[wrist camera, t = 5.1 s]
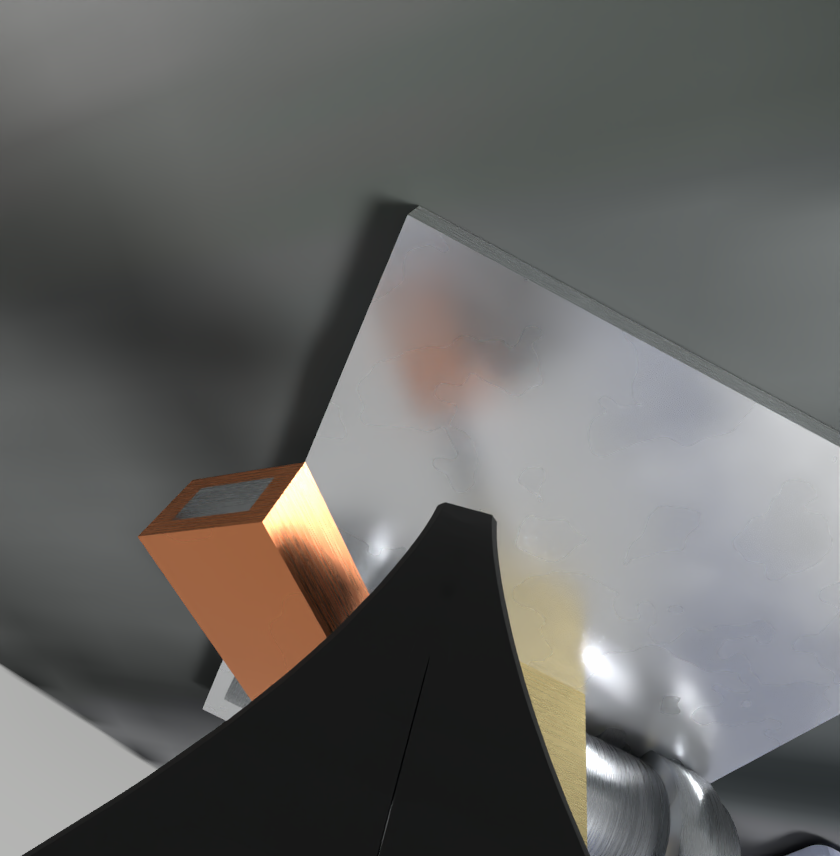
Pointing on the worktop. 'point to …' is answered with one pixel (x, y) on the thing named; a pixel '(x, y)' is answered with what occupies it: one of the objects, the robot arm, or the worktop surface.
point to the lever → (257, 568)
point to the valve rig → (597, 527)
